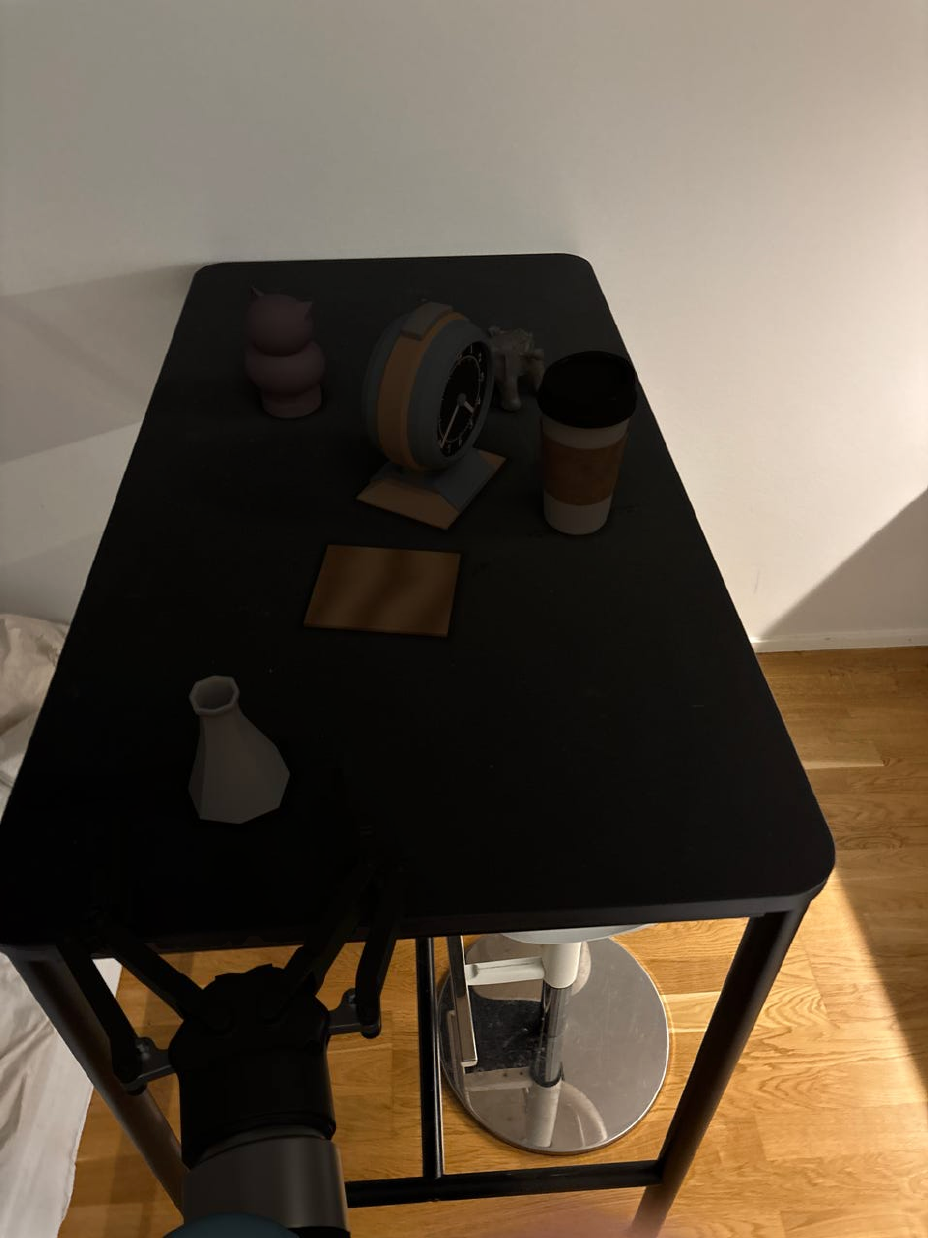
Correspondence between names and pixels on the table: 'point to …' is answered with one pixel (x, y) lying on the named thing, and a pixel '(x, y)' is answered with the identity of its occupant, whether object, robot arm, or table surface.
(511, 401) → the gray elephant figurine
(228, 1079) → the robot arm
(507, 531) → the table surface
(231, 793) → the flask
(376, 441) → the alarm clock
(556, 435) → the coffee cup
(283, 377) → the cat figurine
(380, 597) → the wooden board
